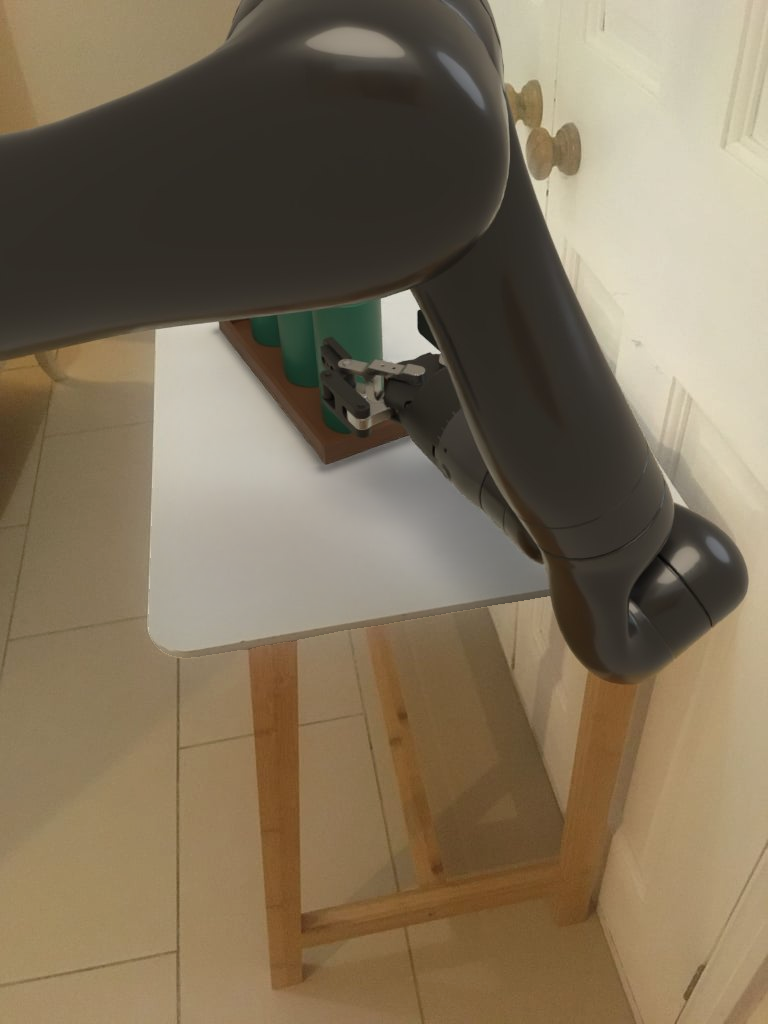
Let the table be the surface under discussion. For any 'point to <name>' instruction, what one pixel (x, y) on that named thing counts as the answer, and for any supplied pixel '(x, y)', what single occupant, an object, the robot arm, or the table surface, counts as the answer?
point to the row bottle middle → (298, 348)
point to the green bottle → (349, 342)
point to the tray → (302, 398)
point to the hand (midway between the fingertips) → (374, 332)
